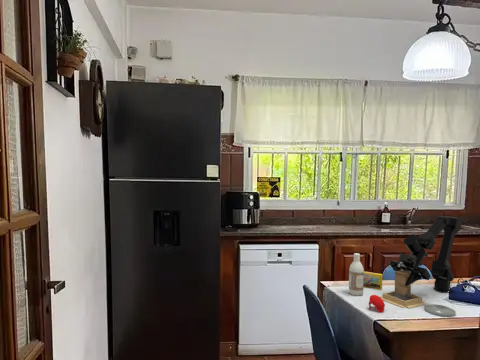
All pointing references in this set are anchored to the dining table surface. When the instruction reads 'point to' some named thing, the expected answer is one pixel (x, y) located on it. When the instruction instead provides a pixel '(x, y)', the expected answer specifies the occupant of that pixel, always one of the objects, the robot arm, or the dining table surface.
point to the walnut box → (402, 285)
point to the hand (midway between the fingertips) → (400, 283)
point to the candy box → (373, 280)
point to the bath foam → (356, 276)
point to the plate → (439, 310)
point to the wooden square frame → (409, 304)
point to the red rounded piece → (376, 303)
